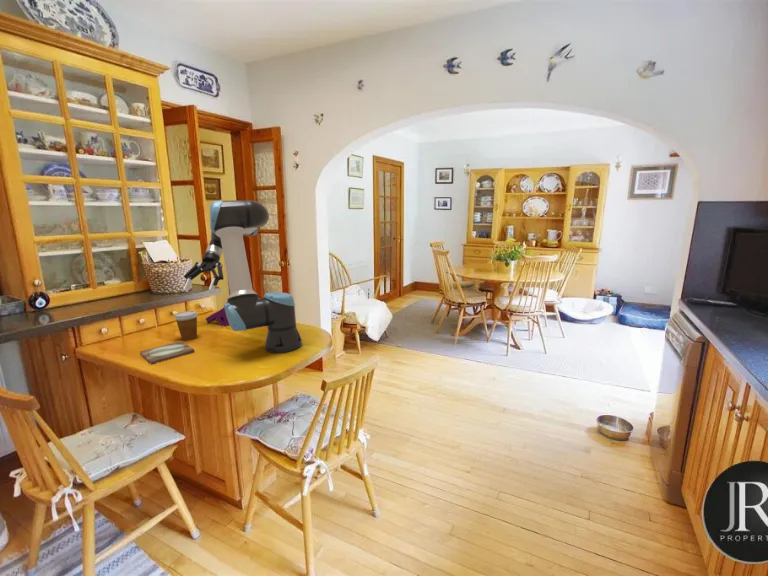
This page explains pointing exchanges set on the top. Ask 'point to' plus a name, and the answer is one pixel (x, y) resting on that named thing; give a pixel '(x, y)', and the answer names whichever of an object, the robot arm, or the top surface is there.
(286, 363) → the top surface
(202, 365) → the top surface
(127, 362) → the top surface
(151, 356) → the coaster
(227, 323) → the mounting bracket
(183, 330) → the disposable coffee cup
